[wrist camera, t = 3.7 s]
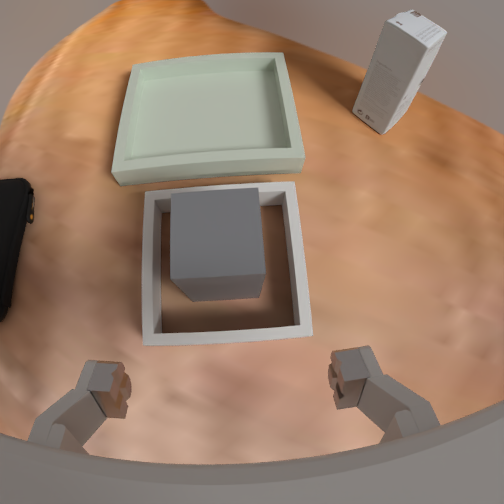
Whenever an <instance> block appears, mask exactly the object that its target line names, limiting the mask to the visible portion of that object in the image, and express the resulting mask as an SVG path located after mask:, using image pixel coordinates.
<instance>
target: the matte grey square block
mask: <svg viewBox="0 0 504 504" xmlns="http://www.w3.org/2000/svg"><path fill="white" fill-rule="evenodd" d="M265 275H266V268H265V257H264V245H263V234H262V223H261V212H260V201H259V190H258V188H239V189H223V190H208V191H195V192H183V193H171V219H170V279H171V280H172V281H173V282H174V283H175V284H176V285H177V286H178V287H179V288H180V289H181V290H182V291H183V292H184V293H185V294H186V295H187V296H188V297H189V298H190V299H191V300H192V301H193V302H197V301H216V300H233V299H248V298H259V296H260V292H261V289H262V285H263V282H264V278H265Z"/></svg>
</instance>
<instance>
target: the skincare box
mask: <svg viewBox="0 0 504 504" xmlns="http://www.w3.org/2000/svg"><path fill="white" fill-rule="evenodd" d="M446 34H447V32H446V31H445V30H444V29H443V28H441V27H440V26H438V25H437V24H435V23H433V22H432V21H430V20H428V19H427V18H425V17H424V16H422V15H420V14H419V13H417V12H415V11H414V10H409V11H406V12H402V13H399V14H397V15H396V16H395V17H393V18H391V19H389V20H386V21H385V23H384V26H383V29H382V32H381V34H380V37H379V40H378V43H377V45H376V48H375V51H374V54H373V57H372V59H371V62H370V65H369V68H368V70H367V73H366V75H365V78H364V81H363V83H362V86H361V88H360V91H359V94H358V96H357V99H356V101H355V104H354V107H353V109H352V112H353V113H354V114H355V115H356V116H358V117H359V118H360V119H361V120H362V121H364V122H365V123H366V124H368V125H369V126H370V127H371V128H373V129H374V130H375V131H377V132H378V133H380V134H381V135H382V134H385V133H386V132H387V131H388V130H389V129H391V128H392V127H393V126H394V125H395V124H396V123H397V122H398V121H399V119H400V118H401V117H402V116H403V115H404V114H405V112H406V111H407V109H408V107H409V105H410V104H411V102H412V100H413V98H414V96H415V95H416V93H417V91H418V89H419V87H420V85H421V83H422V82H423V80H424V78H425V76H426V74H427V72H428V70H429V68H430V66H431V65H432V62H433V61H434V59H435V56H436V55H437V53H438V50H439V48H440V46H441V44H442V42H443V40H444V38H445V36H446Z"/></svg>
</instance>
